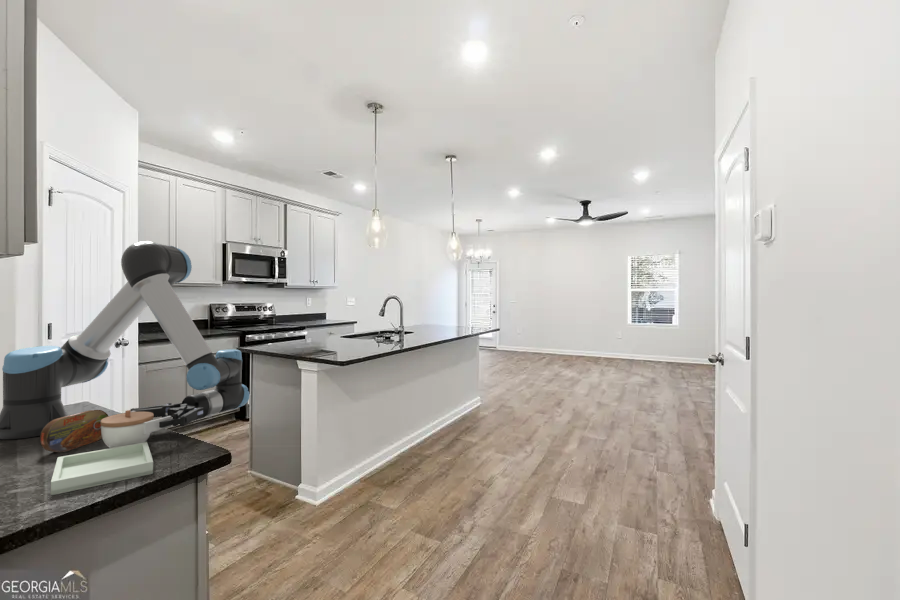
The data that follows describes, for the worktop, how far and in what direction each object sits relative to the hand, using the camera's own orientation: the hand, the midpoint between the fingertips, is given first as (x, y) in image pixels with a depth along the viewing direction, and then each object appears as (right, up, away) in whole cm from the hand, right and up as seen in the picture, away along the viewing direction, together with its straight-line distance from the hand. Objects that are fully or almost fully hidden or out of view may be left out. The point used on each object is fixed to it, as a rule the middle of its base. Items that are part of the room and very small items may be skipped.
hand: (125, 425), depth 104 cm
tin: (-14, -6, +1) cm, 15 cm away
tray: (+6, -6, -14) cm, 16 cm away
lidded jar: (0, -6, +1) cm, 6 cm away
